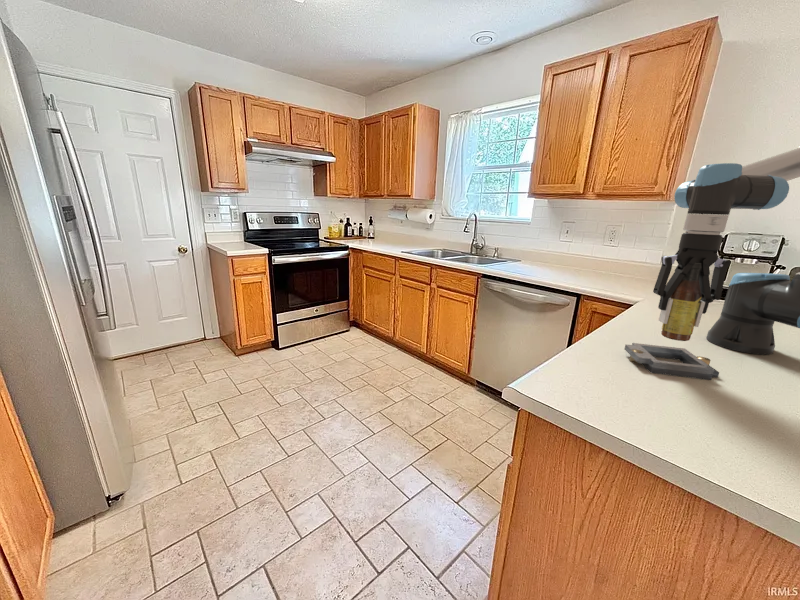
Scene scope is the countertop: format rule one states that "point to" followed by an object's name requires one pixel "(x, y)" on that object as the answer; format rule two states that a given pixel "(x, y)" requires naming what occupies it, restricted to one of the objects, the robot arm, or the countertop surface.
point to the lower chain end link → (679, 373)
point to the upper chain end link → (642, 356)
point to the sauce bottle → (684, 306)
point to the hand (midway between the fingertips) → (677, 323)
